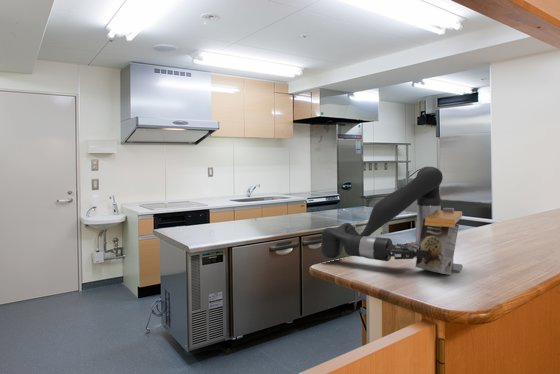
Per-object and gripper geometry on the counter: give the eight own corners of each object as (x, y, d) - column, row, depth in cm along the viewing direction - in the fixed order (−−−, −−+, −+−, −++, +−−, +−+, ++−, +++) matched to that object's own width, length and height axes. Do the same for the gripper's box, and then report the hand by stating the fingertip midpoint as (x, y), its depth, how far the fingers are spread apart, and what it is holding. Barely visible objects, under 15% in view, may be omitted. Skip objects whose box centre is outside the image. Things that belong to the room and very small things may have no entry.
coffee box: (414, 267, 121) (422, 217, 123) (425, 269, 125) (432, 221, 127) (441, 273, 114) (449, 220, 116) (451, 275, 118) (459, 224, 120)
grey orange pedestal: (424, 281, 112) (424, 214, 111) (436, 263, 131) (437, 206, 130) (453, 285, 108) (454, 216, 107) (462, 266, 127) (463, 207, 125)
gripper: (382, 255, 132) (434, 262, 122) (368, 263, 121) (425, 272, 111) (382, 233, 131) (435, 239, 122) (368, 240, 120) (425, 247, 111)
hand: (430, 254), depth 117 cm, fingers closed
